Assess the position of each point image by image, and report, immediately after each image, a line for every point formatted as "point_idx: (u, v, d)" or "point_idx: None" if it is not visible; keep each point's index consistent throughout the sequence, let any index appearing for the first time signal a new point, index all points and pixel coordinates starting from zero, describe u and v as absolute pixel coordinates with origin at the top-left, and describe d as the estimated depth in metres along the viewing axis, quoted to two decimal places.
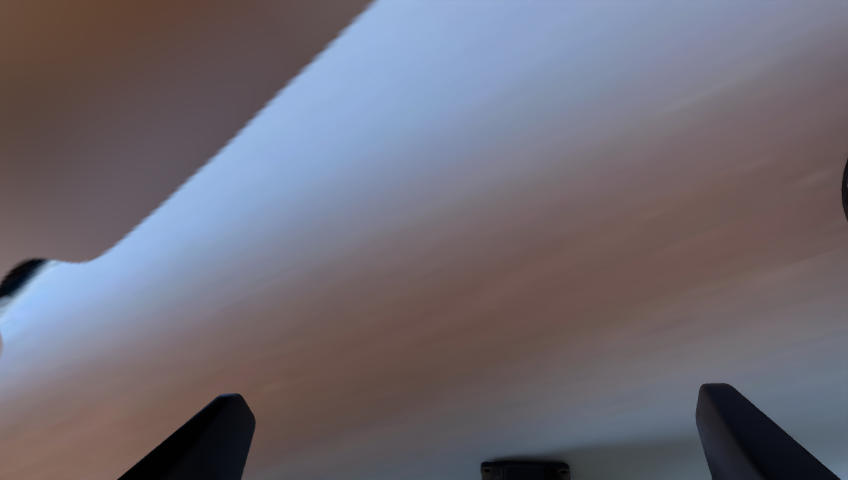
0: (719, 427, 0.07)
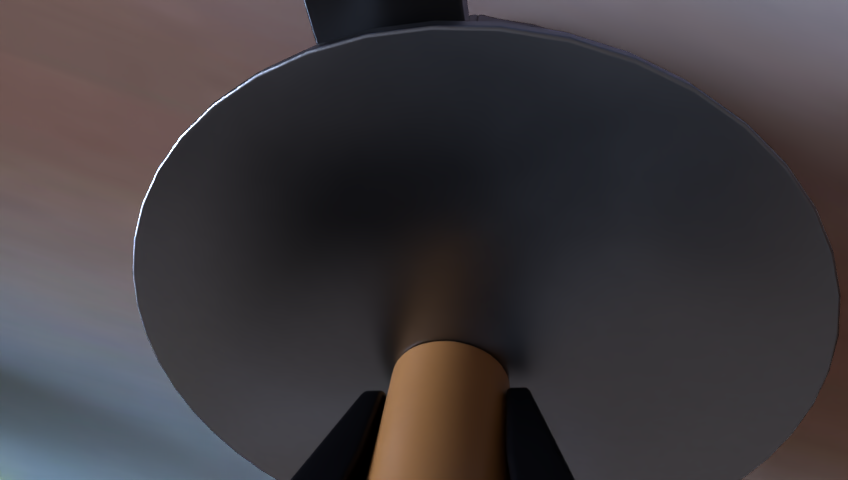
0: None
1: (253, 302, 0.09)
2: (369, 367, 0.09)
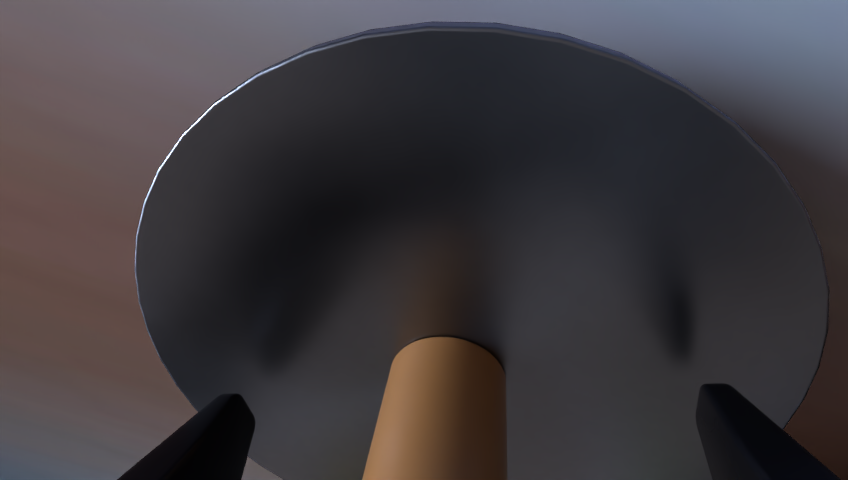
0: (719, 427, 0.07)
1: (253, 298, 0.09)
2: (367, 363, 0.10)
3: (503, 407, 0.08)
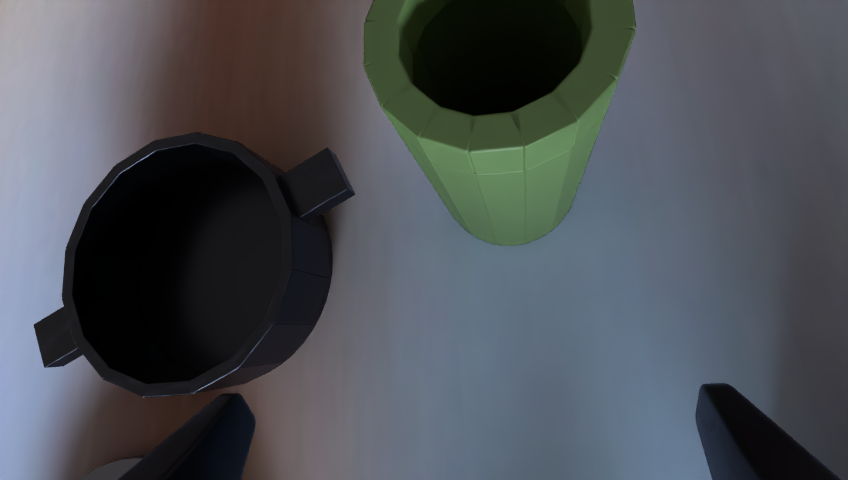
0: (719, 427, 0.07)
1: None
2: None
3: None
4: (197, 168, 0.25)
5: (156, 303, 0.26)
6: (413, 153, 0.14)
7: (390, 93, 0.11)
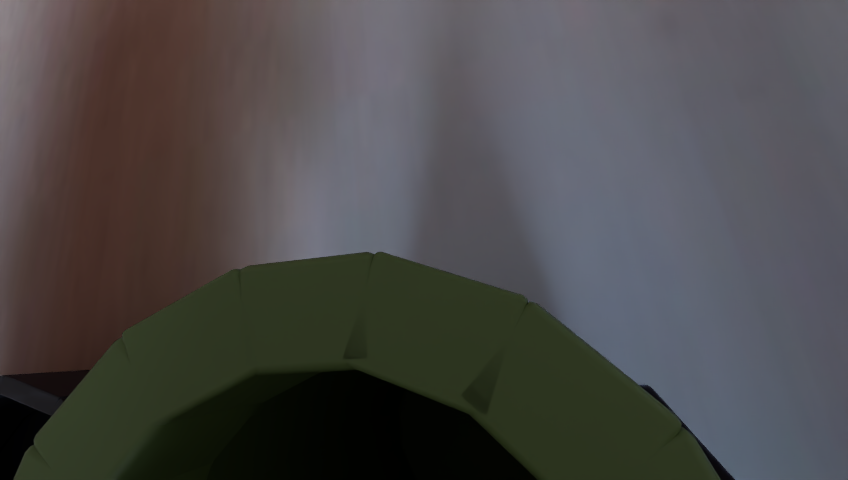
0: None
1: None
2: None
3: None
4: None
5: None
6: None
7: None
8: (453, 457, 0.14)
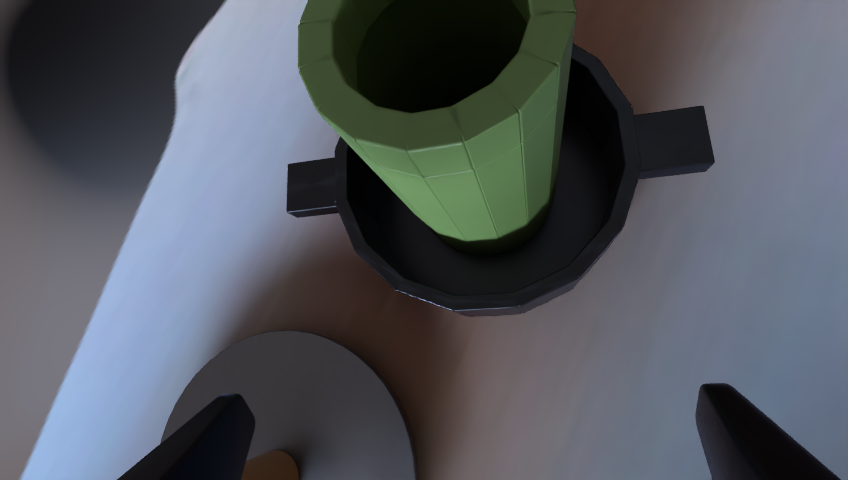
0: (719, 427, 0.07)
1: None
2: None
3: (260, 455, 0.21)
4: None
5: None
6: (364, 160, 0.13)
7: (325, 95, 0.11)
8: None
